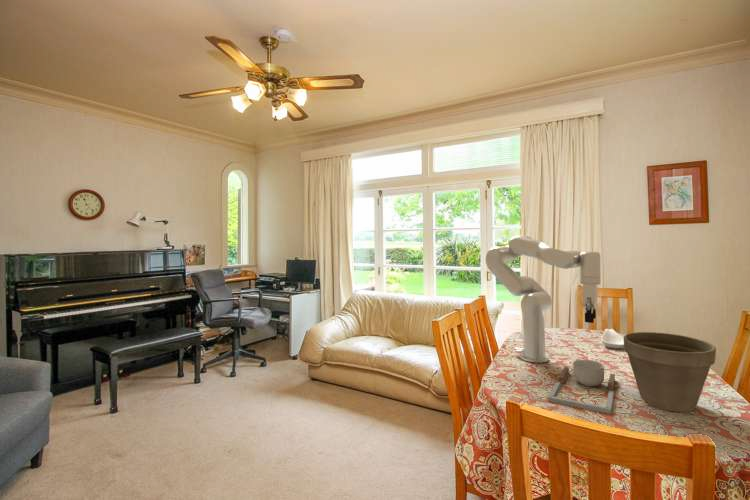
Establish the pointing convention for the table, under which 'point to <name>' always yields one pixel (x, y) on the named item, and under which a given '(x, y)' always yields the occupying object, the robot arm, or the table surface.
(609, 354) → the table surface
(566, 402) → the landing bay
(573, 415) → the table surface
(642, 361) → the plant pot
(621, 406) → the table surface
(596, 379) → the teacup
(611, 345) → the white sneaker
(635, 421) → the table surface
